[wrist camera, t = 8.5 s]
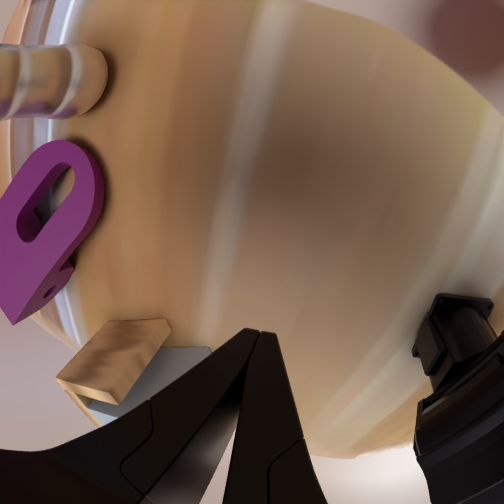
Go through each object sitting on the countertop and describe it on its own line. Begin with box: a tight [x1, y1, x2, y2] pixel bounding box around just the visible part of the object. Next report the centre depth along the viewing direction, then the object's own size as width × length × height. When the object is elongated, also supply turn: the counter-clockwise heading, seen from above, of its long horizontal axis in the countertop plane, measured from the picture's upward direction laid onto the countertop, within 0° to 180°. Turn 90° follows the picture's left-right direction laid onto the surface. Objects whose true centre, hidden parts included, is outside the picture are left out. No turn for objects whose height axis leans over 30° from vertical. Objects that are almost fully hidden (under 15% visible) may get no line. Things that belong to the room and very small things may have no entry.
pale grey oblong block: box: [87, 347, 211, 426], centre depth 24 cm, size 10×5×10 cm, turn 107°
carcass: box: [55, 319, 172, 427], centre depth 24 cm, size 9×7×10 cm
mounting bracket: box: [0, 140, 104, 325], centre depth 23 cm, size 10×8×18 cm
